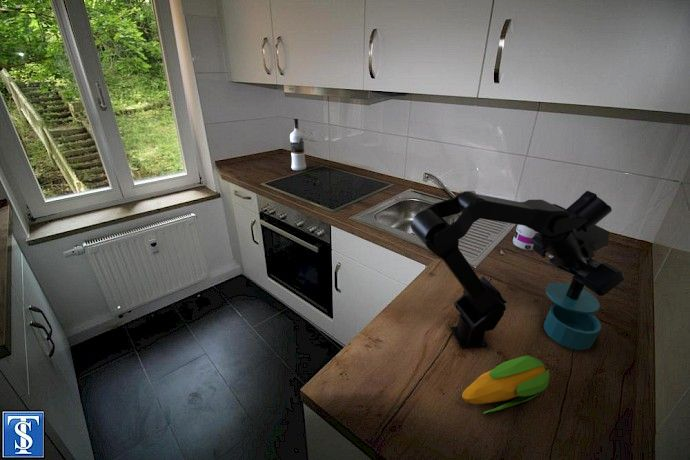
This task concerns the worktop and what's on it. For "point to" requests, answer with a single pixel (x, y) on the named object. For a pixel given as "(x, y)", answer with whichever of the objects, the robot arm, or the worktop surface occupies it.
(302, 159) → the vodka
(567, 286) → the lid
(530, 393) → the corn
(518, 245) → the supplement can
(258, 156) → the worktop surface
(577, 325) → the pot
